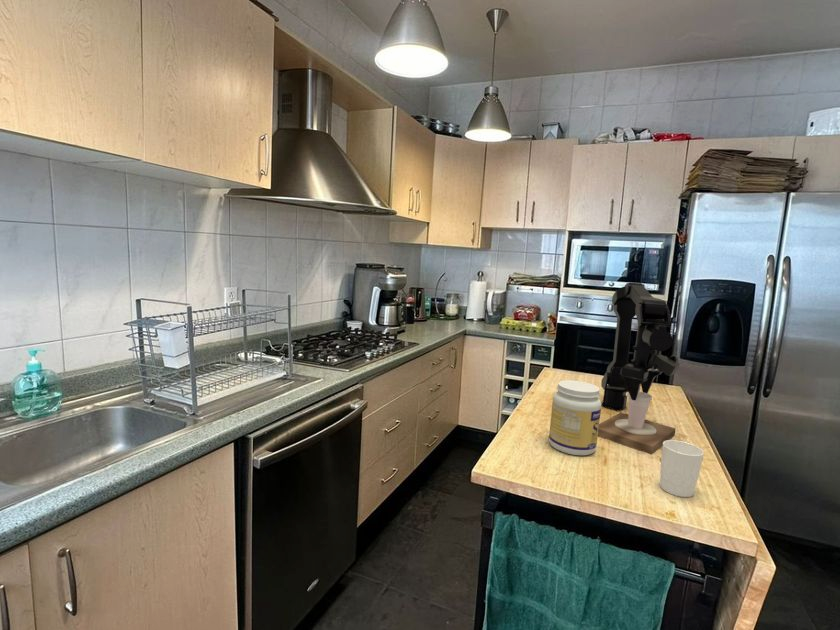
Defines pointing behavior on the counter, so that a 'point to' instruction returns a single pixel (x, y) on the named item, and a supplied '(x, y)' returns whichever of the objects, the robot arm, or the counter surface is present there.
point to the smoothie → (638, 409)
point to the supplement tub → (575, 417)
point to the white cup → (680, 467)
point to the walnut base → (635, 433)
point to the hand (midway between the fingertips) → (639, 396)
